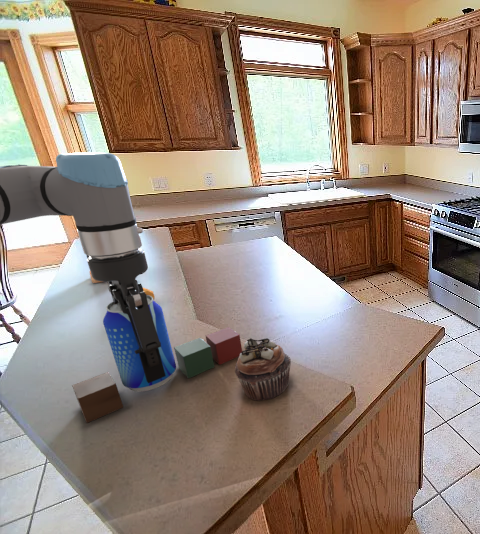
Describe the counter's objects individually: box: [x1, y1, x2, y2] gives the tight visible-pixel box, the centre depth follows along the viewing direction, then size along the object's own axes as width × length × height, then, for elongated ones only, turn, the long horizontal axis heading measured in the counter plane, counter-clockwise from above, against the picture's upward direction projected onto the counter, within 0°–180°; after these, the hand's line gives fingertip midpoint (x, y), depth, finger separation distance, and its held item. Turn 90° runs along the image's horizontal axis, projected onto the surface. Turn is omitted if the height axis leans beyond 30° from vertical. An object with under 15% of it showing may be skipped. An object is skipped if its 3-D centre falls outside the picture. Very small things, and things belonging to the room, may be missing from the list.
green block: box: [173, 337, 215, 379], centre depth 72 cm, size 5×5×5 cm
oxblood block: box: [205, 326, 243, 366], centre depth 76 cm, size 5×5×5 cm
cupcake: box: [234, 337, 292, 402], centre depth 66 cm, size 10×10×10 cm
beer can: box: [102, 295, 177, 393], centre depth 64 cm, size 8×8×16 cm
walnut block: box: [71, 371, 124, 424], centre depth 61 cm, size 5×5×5 cm
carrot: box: [143, 287, 155, 301], centre depth 105 cm, size 20×4×4 cm, turn 47°
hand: (148, 368), depth 66 cm, fingers closed on beer can, 8 cm apart
